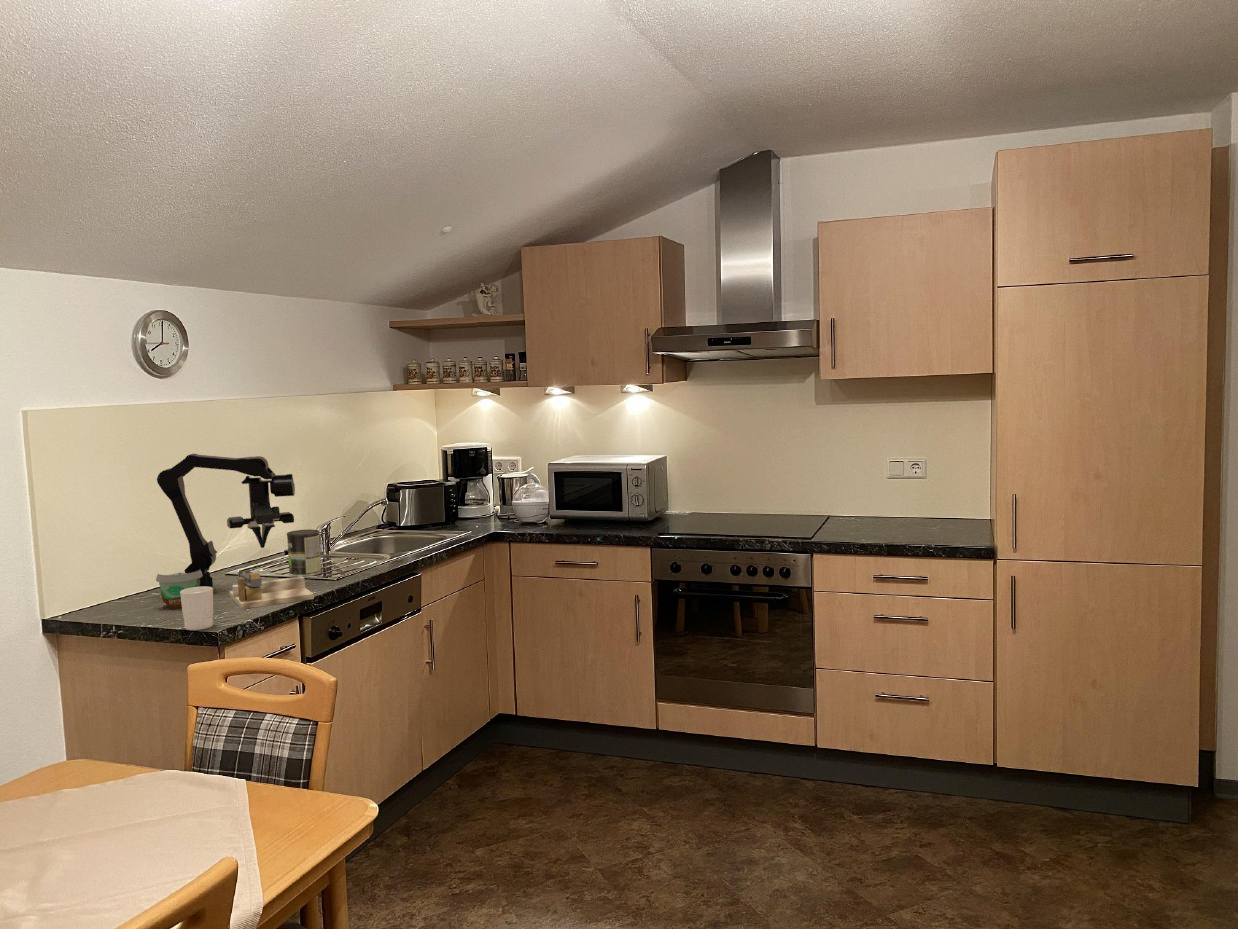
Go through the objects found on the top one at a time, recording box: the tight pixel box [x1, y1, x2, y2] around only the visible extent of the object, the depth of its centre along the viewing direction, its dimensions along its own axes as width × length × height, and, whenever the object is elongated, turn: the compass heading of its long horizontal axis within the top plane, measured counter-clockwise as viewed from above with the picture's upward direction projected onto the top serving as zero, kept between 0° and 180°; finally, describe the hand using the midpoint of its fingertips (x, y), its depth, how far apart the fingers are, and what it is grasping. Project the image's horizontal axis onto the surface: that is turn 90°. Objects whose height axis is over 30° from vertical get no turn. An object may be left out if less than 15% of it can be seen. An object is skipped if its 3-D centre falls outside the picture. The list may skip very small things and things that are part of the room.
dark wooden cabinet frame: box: [237, 570, 263, 587], centre depth 279 cm, size 16×3×4 cm, turn 34°
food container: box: [155, 570, 203, 610], centre depth 273 cm, size 12×6×10 cm, turn 114°
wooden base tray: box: [228, 576, 315, 610], centre depth 282 cm, size 20×20×8 cm
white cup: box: [180, 587, 214, 631], centre depth 250 cm, size 8×8×10 cm
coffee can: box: [286, 529, 322, 578], centre depth 316 cm, size 10×10×14 cm
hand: (262, 547), depth 294 cm, fingers closed
